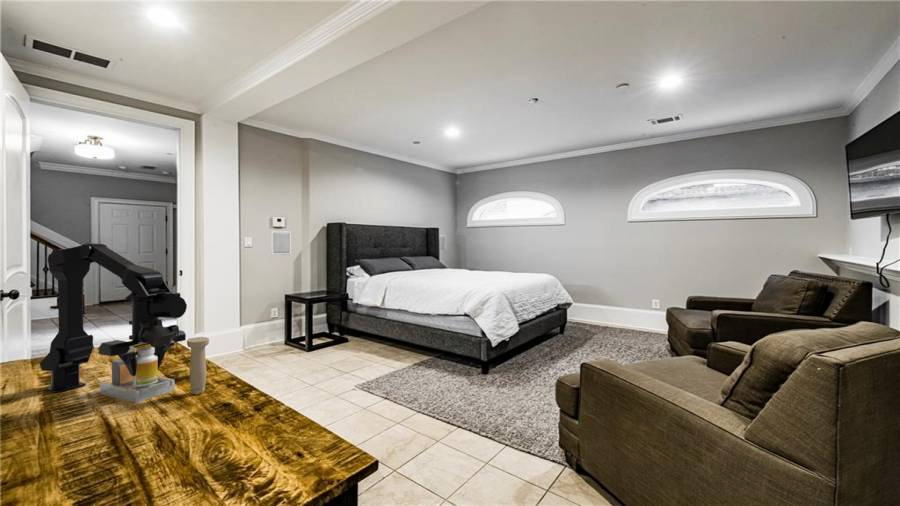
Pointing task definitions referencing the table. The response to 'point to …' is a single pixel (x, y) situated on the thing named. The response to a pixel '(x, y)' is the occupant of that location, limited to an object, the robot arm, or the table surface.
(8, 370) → the table surface
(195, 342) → the handle
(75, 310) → the robot arm
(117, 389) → the grey tray
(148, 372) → the supplement bottle
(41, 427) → the table surface
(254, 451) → the table surface
